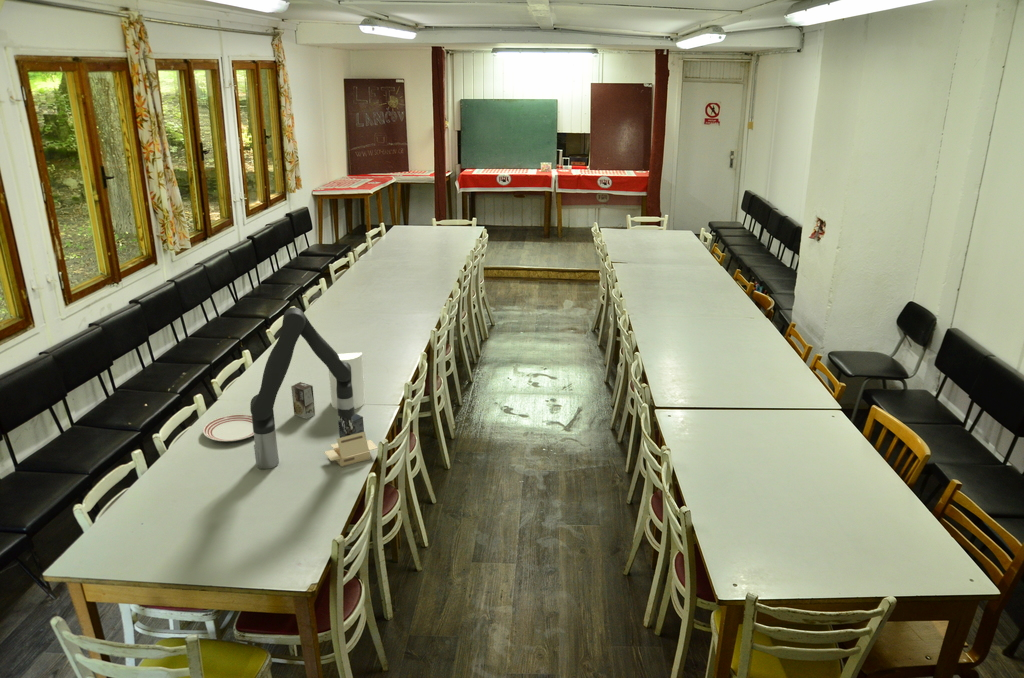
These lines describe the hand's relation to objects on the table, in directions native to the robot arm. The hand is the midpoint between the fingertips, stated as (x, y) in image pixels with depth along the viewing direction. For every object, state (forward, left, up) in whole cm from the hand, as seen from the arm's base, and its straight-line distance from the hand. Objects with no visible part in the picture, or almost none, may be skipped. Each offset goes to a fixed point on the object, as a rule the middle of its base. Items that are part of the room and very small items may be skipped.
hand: (348, 439), depth 347 cm
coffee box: (-5, +50, -8) cm, 51 cm away
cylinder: (+19, +52, -8) cm, 56 cm away
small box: (+7, +15, -8) cm, 18 cm away
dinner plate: (-40, +49, -9) cm, 64 cm away
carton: (0, -1, -8) cm, 8 cm away
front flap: (0, -9, -4) cm, 10 cm away
